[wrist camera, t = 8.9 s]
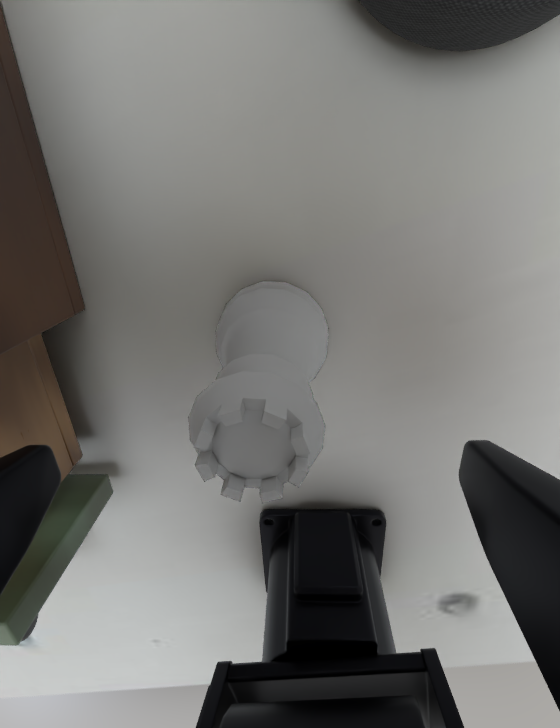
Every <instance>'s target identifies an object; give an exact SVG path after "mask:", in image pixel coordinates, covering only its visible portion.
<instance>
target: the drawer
mask: <svg viewBox="0 0 560 728" xmlns="http://www.w3.org/2000/svg"><path fill="white" fill-rule="evenodd" d="M27 445H48V446H50V447H51V448H52V450H53V453H54V455H55V458H56V461H57V463H58V466H59V469H60V471H61V483H60V486H59V488H58V490H57V492H56V494H55V496H54V498H53V500H52V502H51V504H50V506H49V508H48V510H47V512H46V514H45V516H44V518H43V520H42V522H41V524H40V527H39V529H38V531H37V533H36V535H35V537H34V539H33V541H32V543H31V545H30V546H29V548H28V550H27V552H26V554H25V555H24V557H23V559H22V561H21V562H20V564H19V566H18V567H17V569H16V571H15V572H14V574H13V576H12V577H11V579H10V581H9V582H8V584H7V585H6V587H5V589H4V590H3V592H2V594H1V595H0V645H15V646H16V645H18V644H19V643H20V642H21V641H23V640H25V639H26V638H27V637H28V636H29V635H30V634H31V633H32V631H33V629H34V627H35V625H36V622H37V618H38V613H39V611H40V610H41V608H42V606H43V605H44V603H45V601H46V600H47V598H48V597H49V595H50V593H51V592H52V590H53V589H54V587H55V585H56V584H57V582H58V581H59V579H60V577H61V576H62V574H63V573H64V571H65V569H66V568H67V566H68V565H69V563H70V561H71V560H72V558H73V556H74V555H75V553H76V552H77V550H78V548H79V547H80V545H81V544H82V542H83V540H84V539H85V537H86V536H87V534H88V532H89V531H90V529H91V528H92V526H93V524H94V523H95V521H96V520H97V518H98V516H99V515H100V513H101V511H102V510H103V508H104V507H105V505H106V503H107V502H108V500H109V499H110V497H111V495H112V494H113V489H112V486H111V483H110V480H109V476H108V475H107V474H69V472H70V471H71V470H72V469H73V466H75V465H76V464H77V462H78V461H79V460H80V459H81V457H82V452H81V449H80V446H79V443H78V440H77V438H76V435H75V432H74V429H73V426H72V423H71V420H70V417H69V414H68V411H67V408H66V405H65V403H64V400H63V397H62V394H61V391H60V388H59V385H58V382H57V379H56V376H55V373H54V370H53V367H52V365H51V362H50V359H49V356H48V353H47V350H46V347H45V344H44V341H43V338H42V335H41V334H39V335H37V336H35V337H33V338H31V339H29V340H27V341H25V342H24V343H22V344H20V345H18V346H16V347H14V348H12V349H10V350H9V351H7V352H5V353H3V354H1V355H0V458H1V457H3V456H5V455H7V454H10V453H12V452H14V451H16V450H18V449H20V448H23V447H25V446H27Z"/></svg>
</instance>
